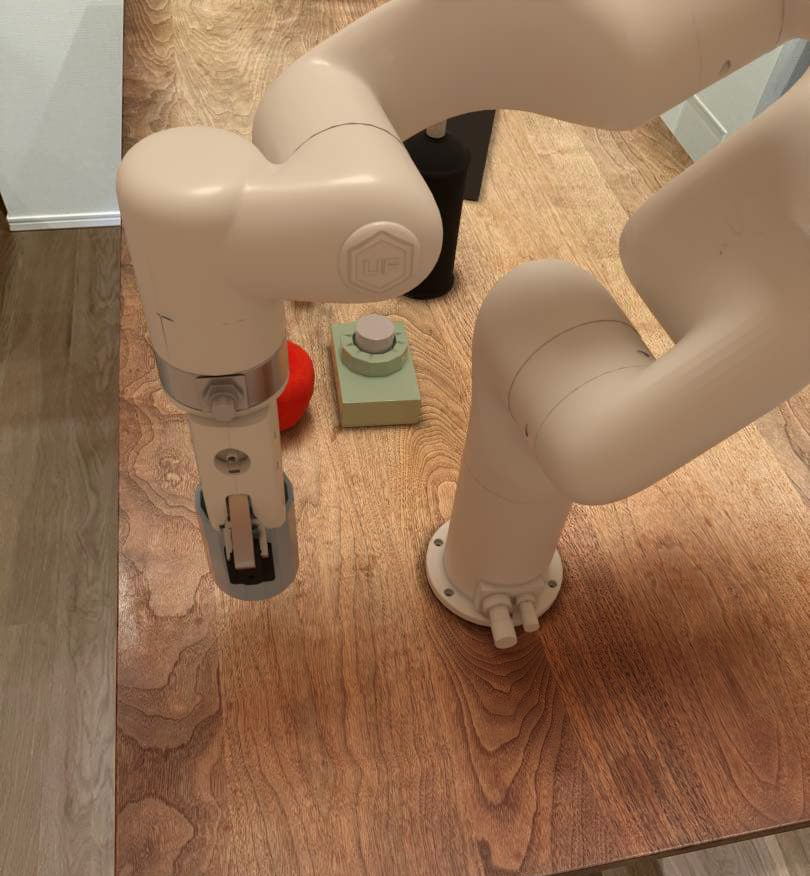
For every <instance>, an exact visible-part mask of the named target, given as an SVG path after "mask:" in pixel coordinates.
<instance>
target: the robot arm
mask: <svg viewBox="0 0 810 876" xmlns="http://www.w3.org/2000/svg"><path fill="white" fill-rule="evenodd" d="M796 39H802V40H805V41H807V42H808V43H810V0H388V1H387V2H385V3H383V4H381V5H379V6H377V7H374V9H372V10H370V11H368V12H366V13H364V14H363V15H361V16H360V17H358V18H357V19H355V20H354V21H352V22H351V23H349V24H347V25H345V26H344V27H342V28H341V29H339V30H338V31H336V32H334V33H333V34H331V35H330V36H328V37H327V38H325V39H323V40H322V41H321V42H319V43H318V44H316V45H314V46H313V47H312V48H310V49H309V50H307V51H306V52H305V53H303V54H302V55H301V56H299V57H298V58H297V59H296V60H294V61H293V62H292V63H290V64H289V65H288V66H286V68H285V69H284V70H283V71H282V72H281V73H280V74H279V75H278V76H277V77H276V78H275V79H274V80H273V81H272V82H271V84H270V85H269V86H268V88H267V89H266V90H265V92H264V94H263V95H262V97H261V98H260V101H259V103H258V105H257V108H256V110H255V113H254V115H253V122H252V126H251V127H252V128H251V141H250V140H249V139H247V138H245V137H244V136H242V135H240V134H238V133H236V132H234V131H230V130H227V129H224V128H220V127H215V126H208V125H181V126H175V127H170V128H166V129H162V130H159V131H156V132H154V133H151V134H150V135H148V136H147V135H146V136H145V137H144V138H142V139H140V140H139V141H138V142H136V143H135V144H134V145H133V146H132V147H131V148H129V149H128V150H127V152H126V153H125V154H124V156H123V157H122V159H121V161H120V164H119V165H118V168H117V171H116V178H115V180H116V181H115V192H116V199H117V204H118V205H117V206H118V211H119V215H120V218H121V223H122V226H123V230H124V235H125V240H126V243H127V248H128V252H129V255H130V259H131V264H132V269H133V272H134V276H135V281H136V285H137V289H138V294H139V298H140V302H141V305H142V311H143V314H144V319H145V323H146V327H147V331H148V335H149V339H150V343H151V348H152V352H153V357H154V360H155V364H156V369H157V373H158V376H159V381H160V386H161V389H162V391H163V393H164V395H165V397H166V398H167V399H168V400H169V402H170V403H171V404H173V405H174V406H175V407H177V408H178V409H179V410H181V411H183V412H185V414H186V417H187V423H188V428H189V433H190V434H189V435H190V438H191V444H192V448H193V453H194V459H195V463H196V468H197V474H198V478H199V483H201V487H202V492H203V496H204V501H205V505H206V509H207V513H208V517H209V520H210V523H211V525H212V527H213V528H214V529H216V530H217V531H219V532H221V529H223V531H224V539H225V547H224V555H225V560H226V565H227V570H228V575H229V580H230V583H231V584H234V585H236V584H244V585H257V584H260V583H262V582H269V581H273V580H275V568H274V560H273V552H272V544H271V543H268V542H267V534H266V528H267V529H271V528H279V527H281V526H282V525H283V523H284V522H285V520H286V507H285V492H284V479H283V471H284V469H283V468H284V467H283V465H284V464H283V454H282V445H281V444H282V443H281V431H280V430H279V420H278V410H277V401H276V399H277V398H278V397H279V396H280V395H281V393H282V392H283V391H284V389H285V387H286V385H287V382H288V378H289V362H288V349H287V340H288V338H287V322H286V311H285V310H286V309H285V301H290V302H291V301H292V302H307V303H324V304H344V305H345V304H346V305H347V304H349V305H350V304H351V305H352V304H353V305H355V304H357V305H359V304H360V305H361V304H371V303H378V302H385V301H388V300H391V299H395V298H397V297H400V296H403V295H404V294H405V293H407V292H408V291H410V290H412V289H413V288H415V287H416V286H418V285H419V284H420V283H421V282H422V281H423V280H424V279H425V278H426V277H427V276H428V275H429V274H430V272H431V271H432V270H433V268H434V266H435V264H436V263H437V261H438V258H439V255H440V252H441V248H442V241H443V227H442V220H441V216H440V212H439V209H438V207H437V204H436V202H435V200H434V197H433V195H432V193H431V191H430V189H429V188H428V186H427V184H426V182H425V181H424V179H423V177H422V176H421V174H420V172H419V171H418V169H417V167H416V166H415V164H414V163H413V161H412V159H411V158H410V155H409V153H408V151H407V150H406V148H405V146H404V145H403V143H402V142H403V141H405V140H406V139H408V138H410V137H412V136H413V135H415V134H417V133H418V132H420V131H422V130H424V129H426V128H428V127H430V126H432V125H434V124H436V123H438V122H441V121H443V120H446V119H448V118H451V117H454V116H458V115H461V114H465V113H469V112H475V111H481V110H496V111H497V110H507V111H508V110H509V111H519V112H525V113H531V114H536V115H539V116H543V117H548V118H551V119H555V120H558V121H561V122H565V123H570V124H574V125H577V126H581V127H582V126H583V127H586V128H593V129H598V130H602V131H608V132H619V133H620V132H621V133H622V132H630V131H634V130H637V129H639V128H642V127H644V126H646V125H647V124H649V123H651V122H652V121H655V119H657V118H659V117H660V116H662V115H663V114H666V113H667V112H669V111H671V110H672V109H673V108H675V107H677V106H679V105H681V104H682V103H684V102H686V101H688V100H689V99H690V98H693V97H694V96H695V95H696V94H698V93H700V92H702V91H703V90H705V89H707V88H709V87H710V86H712V85H714V84H716V83H717V82H719V81H721V80H723V79H724V78H727V77H728V76H730V75H732V74H733V73H735V72H737V71H738V70H740V69H742V68H744V67H746V66H748V65H749V64H751V63H752V62H753V61H756V60H757V59H759V58H761V57H763V56H764V55H766V54H768V53H770V52H772V51H774V50H776V49H777V48H778V47H780V46H782V45H784V44H786V43H788V42H790V41H792V40H796ZM618 255H619V256H618V257H619V259H620V264H621V266H622V268H623V271H624V273H625V275H626V277H627V279H628V281H629V283H630V285H632V287H633V289H634V290H635V292H636V293H637V295H638V297H639V298H640V299H641V301H642V302H643V303H644V305H645V306H646V308H647V309H648V310H649V311H650V313H651V315H652V316H653V317H654V318H655V320H656V321H657V323H658V324H659V325H660V326H661V328H662V329H663V331H664V332H665V333H666V335H668V338H669V339H670V341H672V343H673V344H674V345H673V346H672V347H670V349H668V350H667V351H665V353H663V354H662V355H661V356H660V357H658V358H656V357H655V355H654V354H653V353H652V351H651V350H650V348H649V347H648V346H647V344H646V343H645V342H644V340H643V338H642V336H641V335H640V332H639V331H638V330H637V329H636V327H635V326H634V324H633V323H632V321H631V320H630V319H629V317H628V316H627V315H626V313H625V312H624V310H623V309H622V307H620V305H619V304H618V303H617V301H616V300H615V298H614V297H613V295H611V293H610V292H609V290H608V289H607V288H606V286H604V285H603V284H602V283H601V282H600V281H599V280H598V279H597V278H596V276H594V275H593V274H592V273H591V272H589V271H588V270H586V269H585V268H584V267H582V266H580V265H578V264H576V263H574V262H571V261H568V260H565V259H561V258H554V257H546V258H545V257H544V258H537V259H533V260H528V261H526V262H524V263H521V264H519V265H517V266H515V267H514V268H511V269H510V270H509V271H508V272H507V273H505V274H503V276H502V277H500V278H499V279H498V280H497V281H496V282H495V284H494V285H493V286H492V287H491V288H490V290H489V292H488V293H487V294H486V296H485V297H484V299H483V302H482V303H481V305H480V308H479V311H478V313H477V316H476V319H475V323H474V328H473V333H472V340H471V400H470V411H469V412H470V413H469V419H468V424H467V431H466V436H465V441H464V445H463V446H464V447H463V451H462V456H461V461H460V467H459V471H458V475H457V476H458V477H457V483H456V488H455V492H454V499H453V502H452V509H451V514H450V519H448V520H447V521H446V522H444V523H443V524H441V525H440V527H439V528H438V529H437V530H436V531H435V532H434V533H433V535H432V537H431V538H430V540H429V542H428V546H427V548H426V549H427V550H426V553H425V562H424V566H425V575H426V579H427V581H428V585H429V586H430V588H431V590H432V592H433V594H434V596H435V597H436V598H437V599H438V601H439V602H440V603H441V604H442V605H443V606H444V607H445V608H447V609H448V610H449V611H450V612H451V613H453V614H454V615H456V616H458V617H459V618H461V619H463V620H465V621H468V622H470V623H473V624H474V625H475V624H476V625H479V626H483V627H488V628H490V630H491V634H492V639H493V644H494V646H495V648H497V649H508V648H512V647H514V646H515V645H516V644H517V643H518V638H517V633H516V630H515V627H519V626H522V627H523V630H524V632H525V633H532V632H533V633H534V632H536V631H537V630H539V629H540V627H541V626H540V623H539V618H540V617H541V616H542V615H543V614H544V613H546V611H548V610H549V609H550V608H551V607H552V605H553V603H554V602H555V601H556V599H557V597H558V594H559V592H560V590H561V587H562V583H563V575H564V567H563V563H562V557H561V555H560V553H559V550H558V545H559V542H560V539H561V537H562V534H563V531H564V528H565V526H566V522H567V520H568V518H569V514H570V512H571V509H572V506H573V503H574V504H578V505H582V506H589V507H596V506H597V507H598V506H606V505H609V504H614V503H618V502H620V501H623V500H625V499H628V498H631V497H632V496H634V495H636V494H638V493H640V492H642V491H644V490H646V489H648V488H650V487H652V486H653V485H655V484H657V483H658V482H659V481H662V480H663V479H665V478H667V477H668V476H669V475H672V474H673V473H675V472H676V471H678V470H680V469H681V468H683V467H684V466H685V465H687V464H689V463H691V462H692V461H694V460H695V459H696V458H697V459H698V457H700V456H701V455H703V454H705V453H706V452H708V451H710V450H711V449H713V448H714V447H716V446H718V445H719V444H721V443H722V442H725V441H726V440H727V439H729V438H730V437H732V436H733V435H735V434H737V433H738V432H740V431H741V430H743V429H745V428H746V427H748V426H749V425H751V424H752V423H754V422H756V421H757V420H759V419H761V418H762V417H764V416H765V415H767V414H768V413H770V412H771V411H773V410H775V409H776V408H778V407H779V406H781V405H783V403H786V402H787V401H788V400H789V399H791V398H792V397H794V396H796V395H797V394H799V393H800V392H801V391H802V390H803V389H805V388H807V386H809V385H810V65H809V66H808V67H807V68H806V70H805V71H804V73H803V74H802V75H801V76H800V78H799V79H798V80H796V81H795V83H794V84H793V85H792V86H790V88H789V89H788V90H787V91H786V92H785V93H784V94H783V95H781V96H780V97H779V98H778V99H776V100H775V101H774V102H773V103H771V104H770V105H769V106H768V107H767V108H765V110H763V111H762V112H761V113H759V114H758V115H756V116H755V117H754V118H753V119H751V120H750V121H749V122H747V123H746V124H745V125H743V126H742V127H741V128H739V129H738V130H736V131H735V132H734V133H732V134H731V135H730V136H729V137H727V138H726V139H725V140H723V141H721V142H720V143H719V144H718V145H716V146H715V147H714V148H712V149H711V150H709V151H708V152H707V153H706V154H705V155H703V156H702V157H701V158H699V159H697V160H696V161H694V163H692V164H691V165H689V166H688V167H686V168H685V169H684V170H683V171H681V172H680V173H678V174H677V175H675V177H673V178H672V179H671V180H669V181H668V182H667V183H665V184H664V185H663V186H662V187H660V188H659V189H658V190H657V191H655V192H653V194H651V195H650V196H649V197H648V198H647V199H646V200H645V201H643V202H642V203H641V205H640V206H639V207H638V208H636V209H635V211H633V213H632V214H631V215H630V216H629V218H628V219H627V220H626V222H625V224H624V226H623V228H622V231H621V234H620V236H619V241H618ZM250 506H252V509H253V511H250ZM228 511H230V513H228ZM252 526H257V528H258V537H259V539H253V535H252Z"/></svg>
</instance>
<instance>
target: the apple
mask: <svg viewBox="0 0 810 876" xmlns="http://www.w3.org/2000/svg"><path fill="white" fill-rule="evenodd" d="M287 349H288V362H289V378H288V382H287V385H286V387H285V389H284V391H283V392H282V393H281V395H280V396H279V397H278V398H277V399H276V401H277V410H278V420H279V430H280V432H283V431H286V430H290V429H291V428H293V427H294V426H295V425H297V424H298V423H299V421H300V420H301V418H302V416H303V415H304V413H305V412H306V410H307V408H308V406H309V404H310V402H311V400H312V398H313V395H314V390H315V382H316V381H315V380H316V374H315V367H314V362H313V360H312V358H311V356H310V355H309V353H308V352H307V351H306V350H305V349H304V348H303V347H302V346H300V345H298V344H297V343H295V342H293V341H290V340H288V339H287Z"/></svg>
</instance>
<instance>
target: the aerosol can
mask: <svg viewBox="0 0 810 876" xmlns="http://www.w3.org/2000/svg"><path fill="white" fill-rule="evenodd" d="M446 120H447V119H446ZM446 120H443V121H441V122H438V123H436V124H434V125H432V126H430V127H428V128H427V129H424V130H422V131H420V132H418V133H417V134H415V135H413V136H412V137H410V138H408V139H406V140H405V141H403V142H402V143H403V145H404V146H405V148H406V150H407V151H408V153H409V155H410V158H411V159H412V161H413V163H414V164H415V166H416V167H417V169H418V171H419V172H420V174H421V176H422V177H423V179H424V181H425V182H426V184H427V186H428V188H429V189H430V191H431V193H432V195H433V197H434V200H435V202H436V204H437V207H438V209H439V212H440V216H441V220H442V227H443V241H442V248H441V252H440V255H439V258H438V261H437V263H436V264H435V266H434V268H433V270H432V271H431V272H430V274H429V275H428V276H427V277H426V278H425V279H424V280H423V281H422V282H421V283H420V284H419V285H418V286H416V287H415V288H413V289H412V290H410V291H408V292H407V293H405V294H403V295H404V296H406V297H409V298H414V299H420V300H421V299H423V300H425V299H427V300H428V299H434V298H438V297H441V296H443V295H445V294H447V292H449V291H450V290H451V289H452V287H453V285H454V283H455V274H454V267H455V262H456V255H457V248H458V247H457V246H458V240H459V234H460V228H461V227H460V226H461V219H462V213H463V206H464V205H463V204H464V199H465V198H464V191H465V184H466V177H467V170H468V167H469V166H470V164H471V159H472V157H471V153H470V151H469V150H468V148H467V147H466V146H465V145H464V144H463V143H462V142H461V140H460V139H459V138H458V137H457V136H455V135H454V134H452V133H450V132H447V131H445V129H446Z"/></svg>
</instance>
